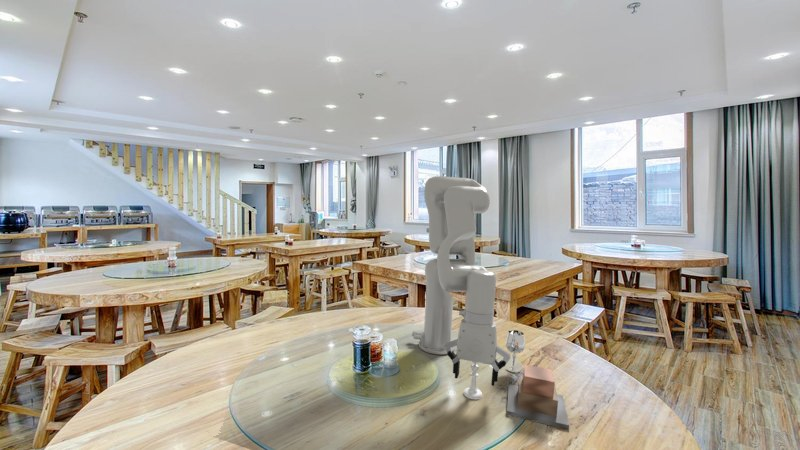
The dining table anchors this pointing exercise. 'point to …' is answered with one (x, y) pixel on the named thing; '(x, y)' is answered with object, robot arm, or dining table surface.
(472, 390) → the chess piece
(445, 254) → the robot arm
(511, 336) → the wineglass
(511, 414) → the stepped pedestal
